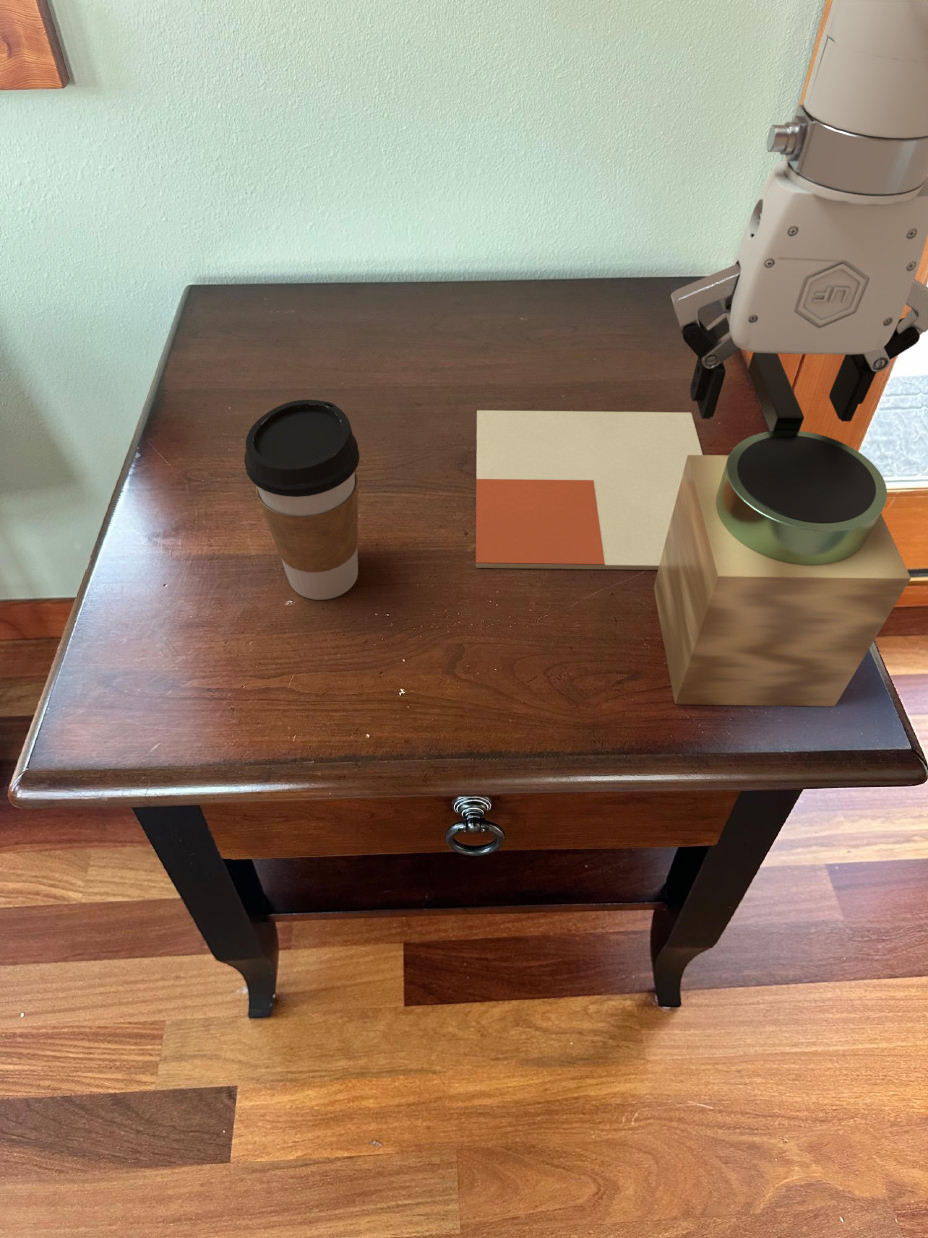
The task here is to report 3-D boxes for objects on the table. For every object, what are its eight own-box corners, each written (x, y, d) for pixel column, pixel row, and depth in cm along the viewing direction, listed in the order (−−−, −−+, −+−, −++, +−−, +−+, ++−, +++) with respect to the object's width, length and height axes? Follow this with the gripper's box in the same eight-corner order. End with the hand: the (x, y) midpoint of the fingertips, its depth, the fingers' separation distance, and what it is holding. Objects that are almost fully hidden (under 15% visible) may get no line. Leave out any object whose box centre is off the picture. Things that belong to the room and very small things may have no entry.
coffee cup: (392, 563, 72) (379, 419, 61) (331, 626, 67) (305, 483, 56) (316, 527, 75) (290, 383, 64) (252, 585, 70) (212, 441, 59)
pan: (685, 397, 64) (696, 350, 61) (815, 398, 64) (833, 352, 61) (731, 564, 53) (747, 517, 50) (890, 566, 53) (916, 519, 49)
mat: (690, 417, 86) (691, 411, 85) (731, 571, 72) (733, 565, 71) (476, 414, 86) (476, 409, 86) (475, 568, 72) (475, 562, 71)
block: (795, 588, 70) (855, 456, 60) (835, 706, 62) (911, 578, 52) (653, 587, 70) (687, 454, 60) (674, 704, 63) (718, 576, 52)
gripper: (717, 175, 44) (656, 439, 57) (1047, 181, 44) (910, 444, 57) (694, 121, 49) (642, 376, 62) (990, 126, 49) (876, 380, 62)
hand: (771, 408), depth 59 cm, fingers open, 9 cm apart
